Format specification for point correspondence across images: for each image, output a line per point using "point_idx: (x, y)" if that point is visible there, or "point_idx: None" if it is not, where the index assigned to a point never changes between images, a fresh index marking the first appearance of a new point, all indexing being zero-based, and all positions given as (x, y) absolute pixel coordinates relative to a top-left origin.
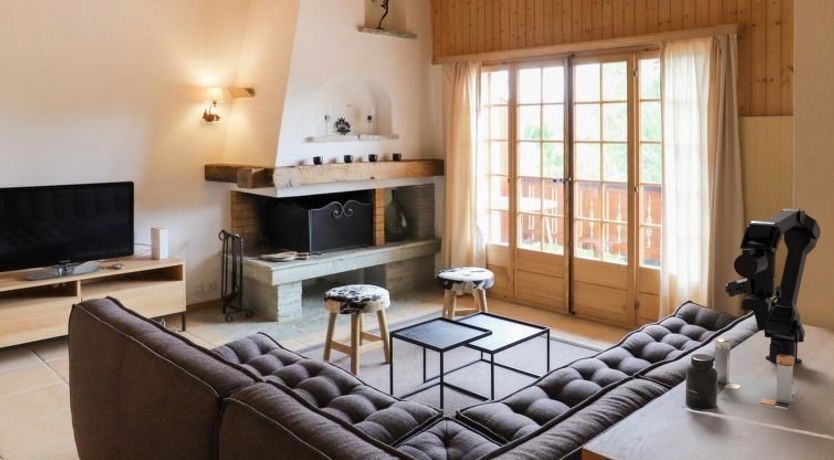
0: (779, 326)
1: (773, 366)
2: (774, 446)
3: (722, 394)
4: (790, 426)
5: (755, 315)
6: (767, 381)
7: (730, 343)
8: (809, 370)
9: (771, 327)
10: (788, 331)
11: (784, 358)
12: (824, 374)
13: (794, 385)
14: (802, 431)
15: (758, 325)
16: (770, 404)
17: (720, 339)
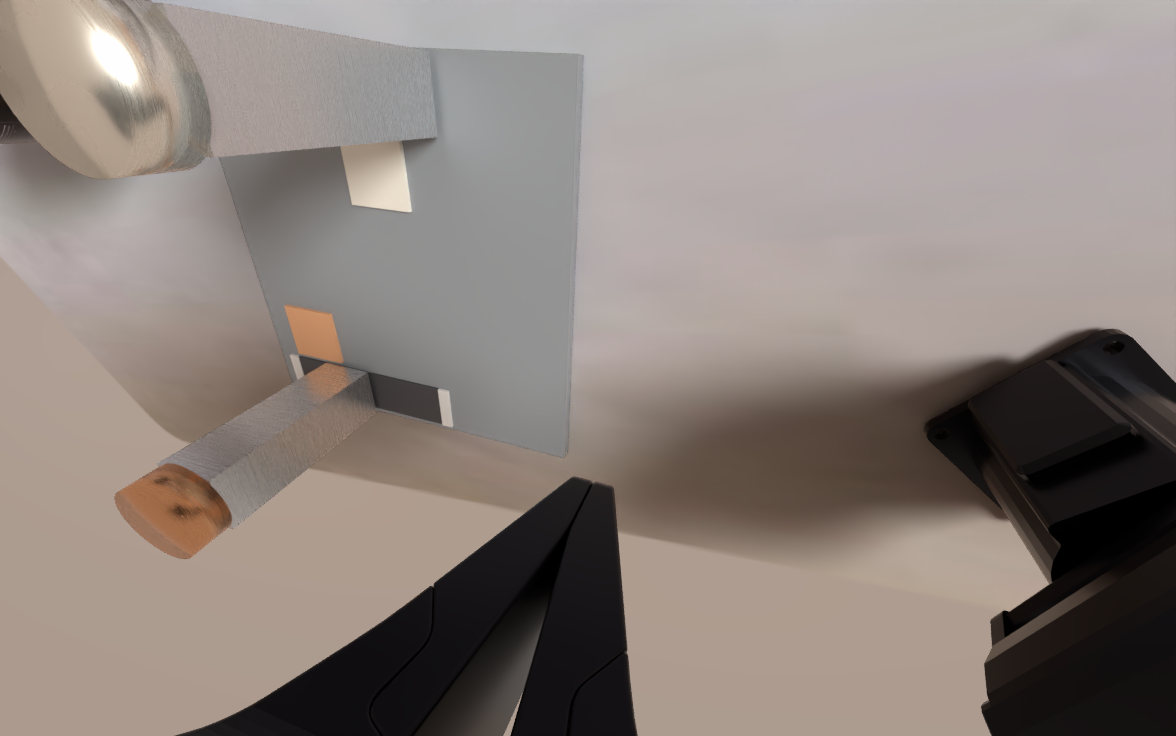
0: (1090, 678)
1: (888, 369)
2: (99, 339)
3: None
4: (227, 384)
5: (360, 643)
6: (545, 335)
7: (125, 176)
8: (847, 522)
9: (1160, 595)
10: (990, 679)
11: (127, 516)
12: (795, 562)
13: (550, 437)
14: (224, 408)
15: (529, 522)
16: (296, 341)
17: (51, 36)
